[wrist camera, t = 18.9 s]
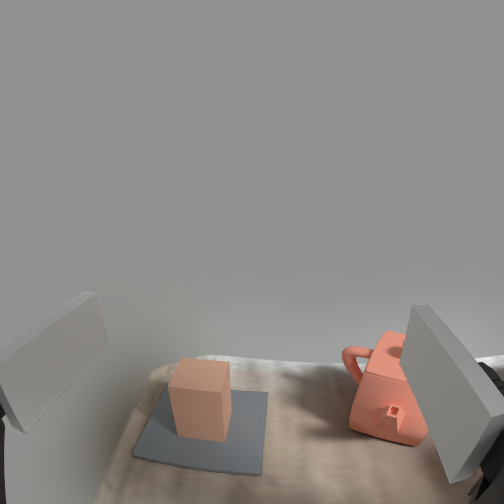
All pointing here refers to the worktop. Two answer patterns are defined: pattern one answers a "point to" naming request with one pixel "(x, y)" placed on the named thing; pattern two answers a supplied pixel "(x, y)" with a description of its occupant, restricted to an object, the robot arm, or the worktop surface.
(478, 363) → the robot arm
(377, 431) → the teapot
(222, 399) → the block
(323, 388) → the worktop surface
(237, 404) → the mat
